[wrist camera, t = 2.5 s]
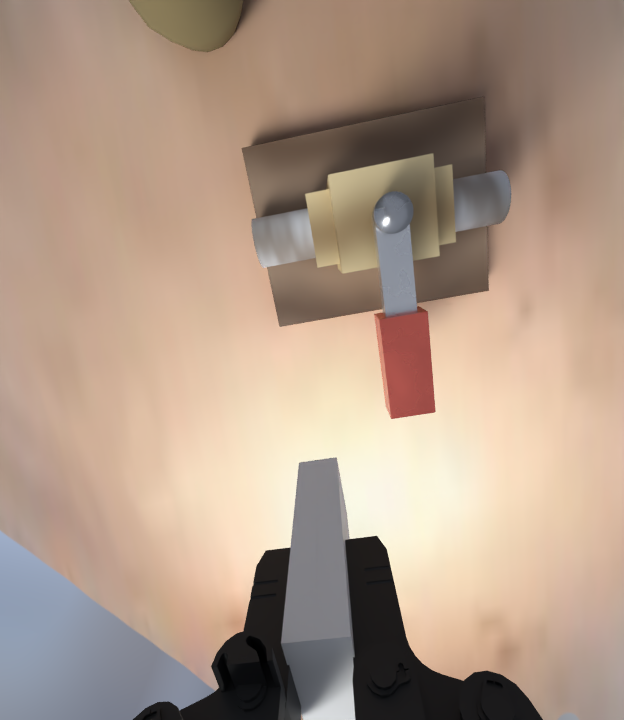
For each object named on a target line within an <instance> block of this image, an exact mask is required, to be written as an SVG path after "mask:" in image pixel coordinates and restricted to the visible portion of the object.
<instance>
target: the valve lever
mask: <svg viewBox="0 0 624 720" xmlns="http://www.w3.org/2000/svg"><path fill="white" fill-rule="evenodd" d="M412 217H413V204H412V202H411V200H410V198H409V197H408V196H407V195H405V194H404V193H402V192H398V191H393V192H389V193H386V194H385V195H383V196H382V197H381V198H380V199H379V200H378V201H377V202H376V204H375V205H374V208H373V212H372V225H373V233H374V242H375V250H376V259H377V267H378V276H379V284H380V293H381V301H382V310H383V313H377V314H374V315H375V323H376V331H377V339H378V347H379V355H380V363H381V371H382V379H383V387H384V395H385V403H386V408H387V410H388V412H389V415H390V417H391V419H394V418H401V417H407V416H414V415H421V414H427V413H434V412H435V401H434V388H433V375H432V362H431V349H430V336H429V323H428V312H427V311H426V310H424V309H422V308H421V307H419V306H418V307H417V302H416V291H415V279H414V268H413V256H412V245H411V233H410V222H411V220H412Z"/></svg>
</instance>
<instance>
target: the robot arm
mask: <svg viewBox="0 0 624 720" xmlns="http://www.w3.org/2000/svg"><path fill="white" fill-rule="evenodd" d="M253 583H254V585H253V587H252V592H251V600H250V602H249V607H248V612H247V617H246V622H245V626H244V631H243V632H240V633H237V634H235V635H234V636H233V637H231V638H230V639H229V640H227V641H226V642H225V643H224V644H223V646H222V647H221V648H220V650H219V651H218V652H217V654H216V656H215V659H214V661H213V663H212V666H211V667H212V670H213V672H214V675H215V677H216V680H217V683H218V685H219V688H218V689H217V690H216V691H215V692H214V693H212V694H211V695H209V696H207V697H206V698H204V699H202V700H200V701H198V702H196V703H194V704H192V705H190V706H188V707H186V708H184V709H182V710H180V711H179V709H178V708H177V706H175V705H173V704H172V703H170V702H157V703H155V704H153V705H151V706H149V707H147V708H145V709H144V710H143V711H142V712H141V713H140V714H139V715H138V716H136V717H135V718H134V719H133V720H301V714H302V717H303V720H543V719H542V718H541V716H540V715H539V713H538V712H537V710H536V709H535V707H534V706H533V704H532V703H531V701H530V700H529V699H528V697H527V696H526V695H525V694H524V693H523V692H522V691H521V690H520V688H519V687H518V686H517V685H516V684H515V683H513V682H512V681H510V680H509V679H507V678H506V677H504V676H503V675H501V674H497V673H493V672H490V671H481V672H474V673H473V674H472V675H470V676H469V677H468V678H466V679H465V680H464V681H462V680H459V679H456V678H452V677H449V676H445V675H442V674H440V673H437V672H435V671H433V670H431V669H429V668H428V667H427V666H425V665H424V664H422V663H421V661H420V660H419V659H418V658H417V657H416V656H415V655H414V653H413V651H412V650H411V648H410V646H409V644H408V641H407V638H406V634H405V630H404V625H403V621H402V616H401V612H400V607H399V603H398V598H397V594H396V589H395V585H394V580H393V576H392V571H391V567H390V562H389V558H388V553H387V549H386V548H385V546H384V545H383V544H382V542H381V541H380V540H379V538H378V537H377V536H372V537H364V538H356V539H349V530H348V520H347V512H346V506H345V501H344V495H343V490H342V484H341V479H340V473H339V468H338V462H337V457H336V458H329V459H322V460H315V461H308V462H301V463H299V469H298V479H297V489H296V499H295V509H294V519H293V529H292V539H291V548H283V549H275V550H267V551H266V552H265V553H264V555H263V556H262V558H261V560H260V561H259V563H258V565H257V567H256V572H255V577H254V582H253Z"/></svg>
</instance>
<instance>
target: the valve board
mask: <svg viewBox="0 0 624 720" xmlns="http://www.w3.org/2000/svg"><path fill="white" fill-rule="evenodd" d="M242 152H243V156H244V161H245V166H246V171H247V175H248V180H249V185H250V189H251V194H252V199H253V203H254V208H255V213H256V218H255V219H252V234H253V240H254V244H255V249H256V252H257V256H258V259H259V262H260V264H261V266H262V267H263V268H265V267H267V269H268V274H269V279H270V284H271V288H272V293H273V298H274V302H275V307H276V312H277V316H278V321H279V326H280V327H281V326H287V325H293V324H299V323H304V322H310V321H316V320H322V319H328V318H333V317H339V316H345V315H351V314H356V313H362V312H368V311H374V310H379V309H382V301H381V293H380V284H379V276H378V267H377V259H376V250H375V242H374V233H373V225H372V212H373V208H374V205H375V204H376V202H377V201H378V200H379V199H380V198H381V197H382V196H383V195H385V194H386V193H389V192H393V191H398V192H402V193H404V194H405V195H407V196H408V197H409V198H410V200H411V202H412V204H413V217H412V220H411V222H410V233H411V245H412V256H413V268H414V279H415V291H416V302H417V303H420V302H425V301H431V300H437V299H443V298H448V297H454V296H460V295H466V294H472V293H477V292H483V291H489V285H488V241H487V226H490V225H495V224H500V223H502V222H503V221H504V220H505V218H506V216H507V214H508V211H509V208H510V203H511V186H510V182H509V178H508V176H507V175H506V173H505V172H504V171H502V170H498V171H493V172H488V173H486V152H485V107H484V97H479V98H474V99H470V100H465V101H460V102H456V103H451V104H446V105H442V106H437V107H432V108H428V109H423V110H418V111H413V112H409V113H404V114H399V115H395V116H390V117H385V118H381V119H376V120H371V121H367V122H362V123H357V124H353V125H348V126H343V127H339V128H334V129H329V130H324V131H320V132H315V133H310V134H306V135H301V136H296V137H292V138H287V139H282V140H278V141H273V142H268V143H264V144H259V145H254V146H249V147H245V148H242Z"/></svg>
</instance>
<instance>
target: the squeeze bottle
mask: <svg viewBox="0 0 624 720" xmlns="http://www.w3.org/2000/svg"><path fill="white" fill-rule="evenodd" d="M129 1H130V3H131V5H132V6H133V7H134V9H135V10H136V11H137V12H138V14H139V15H140V16H141V18H142V19H143V20H144V22H145V23H146V24H147V26H148V27H149V28H151V29H152V30H154V31H155V32H157V33H159V34H160V35H162V36H163V37H165V38H167V39H168V40H170V41H171V42H174V43H176V44H179V45H181V46H183V47H186V48H188V49H191V50H195V51H203V52H210V51H212V50H215V49H217V48H220V47H222V46H223V45H224V44H225V43H226V42H227V41H228V40H229V39H230V38H231V37H232V36H233V35H234V32H235V29H236V27H237V24H238V21H239V19H240V15H241V10H242V4H243V0H129Z"/></svg>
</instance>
